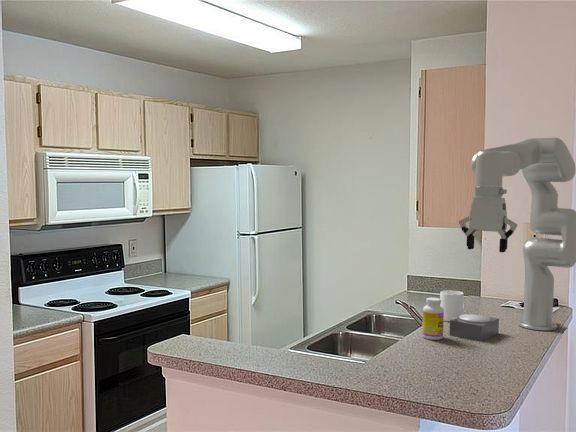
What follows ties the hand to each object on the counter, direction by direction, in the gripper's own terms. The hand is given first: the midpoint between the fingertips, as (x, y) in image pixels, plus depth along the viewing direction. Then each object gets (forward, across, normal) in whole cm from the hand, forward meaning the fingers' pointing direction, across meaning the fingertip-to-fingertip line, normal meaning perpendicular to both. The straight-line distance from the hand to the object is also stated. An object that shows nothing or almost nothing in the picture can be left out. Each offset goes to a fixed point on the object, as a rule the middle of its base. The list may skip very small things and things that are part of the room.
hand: (486, 250), depth 173 cm
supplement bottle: (+31, +19, -5) cm, 37 cm away
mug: (+31, +25, -35) cm, 53 cm away
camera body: (+31, +11, -19) cm, 38 cm away
